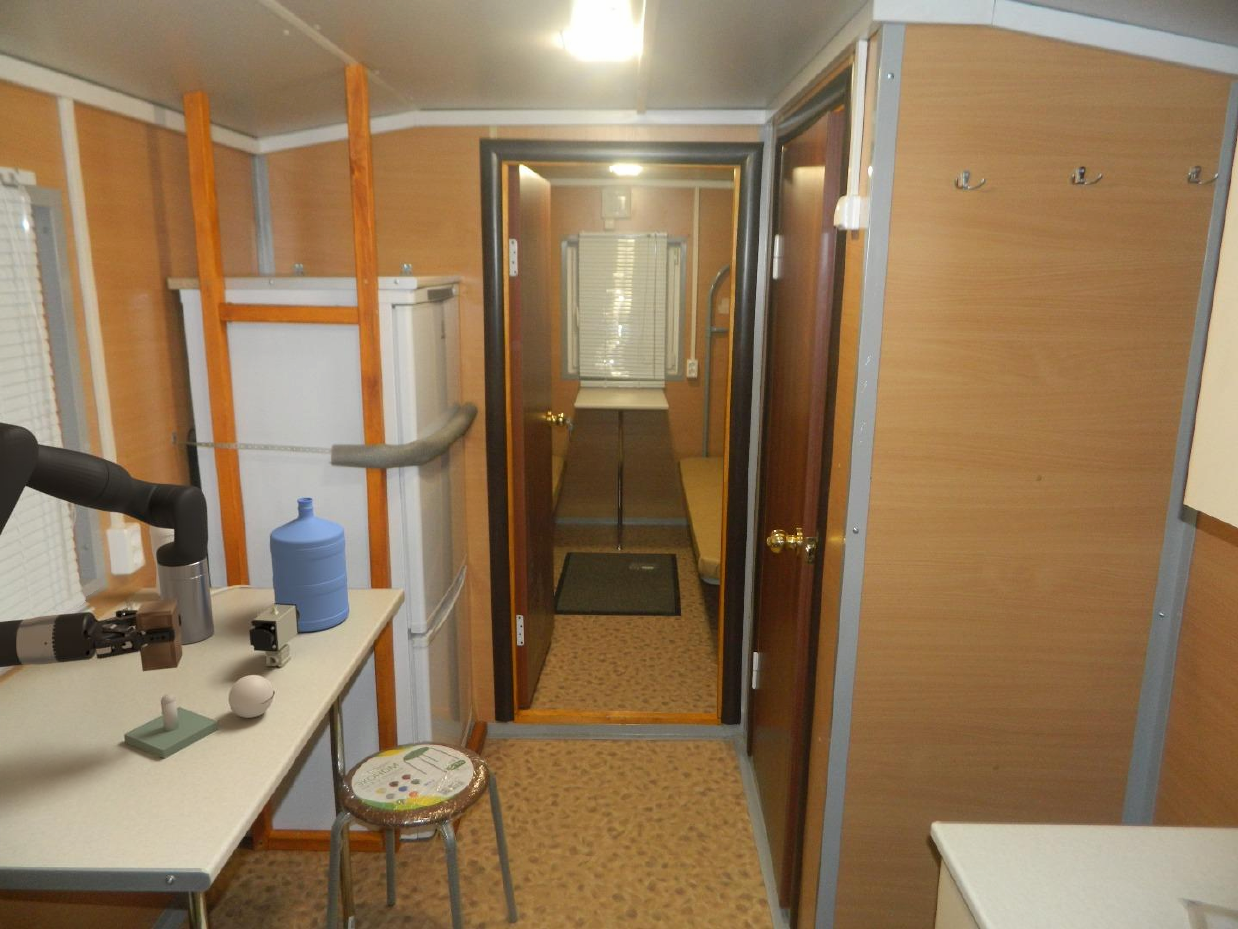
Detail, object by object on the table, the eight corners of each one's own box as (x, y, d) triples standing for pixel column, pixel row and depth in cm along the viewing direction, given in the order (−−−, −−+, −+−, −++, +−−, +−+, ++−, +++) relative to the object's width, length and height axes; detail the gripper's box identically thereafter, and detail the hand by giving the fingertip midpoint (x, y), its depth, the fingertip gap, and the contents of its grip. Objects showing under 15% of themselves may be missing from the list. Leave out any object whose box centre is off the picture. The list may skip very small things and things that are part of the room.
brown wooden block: (142, 671, 133) (135, 613, 131) (149, 657, 138) (142, 601, 136) (177, 667, 135) (171, 610, 132) (182, 654, 139) (176, 598, 137)
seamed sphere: (255, 729, 142) (251, 690, 140) (220, 721, 144) (216, 683, 142) (294, 701, 151) (291, 665, 149) (261, 694, 153) (258, 658, 152)
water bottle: (198, 593, 199) (187, 494, 193) (173, 604, 192) (161, 501, 187) (175, 589, 201) (163, 490, 196) (150, 600, 195) (137, 498, 189)
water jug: (335, 634, 179) (327, 510, 172) (263, 632, 179) (253, 508, 173) (358, 605, 194) (352, 491, 188) (292, 604, 194) (283, 489, 188)
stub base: (125, 742, 137) (119, 700, 136) (179, 714, 146) (175, 675, 144) (164, 758, 133) (159, 716, 131) (218, 729, 142) (214, 689, 140)
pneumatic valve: (303, 650, 171) (299, 596, 168) (275, 677, 160) (270, 620, 157) (278, 649, 172) (273, 595, 169) (248, 675, 160) (242, 618, 157)
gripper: (39, 635, 123) (167, 623, 128) (68, 599, 136) (183, 589, 142) (46, 681, 125) (171, 667, 130) (74, 641, 138) (187, 630, 143)
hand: (177, 627), depth 136 cm, fingers closed on brown wooden block, 5 cm apart
